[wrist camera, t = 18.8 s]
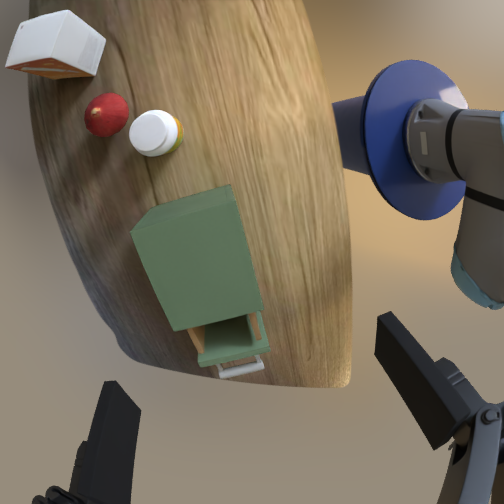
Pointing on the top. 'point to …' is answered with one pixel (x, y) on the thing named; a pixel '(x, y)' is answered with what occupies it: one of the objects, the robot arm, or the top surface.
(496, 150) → the robot arm
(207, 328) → the drawer
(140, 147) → the supplement bottle
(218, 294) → the cabinet
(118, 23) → the top surface
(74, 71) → the small box
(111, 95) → the onion
